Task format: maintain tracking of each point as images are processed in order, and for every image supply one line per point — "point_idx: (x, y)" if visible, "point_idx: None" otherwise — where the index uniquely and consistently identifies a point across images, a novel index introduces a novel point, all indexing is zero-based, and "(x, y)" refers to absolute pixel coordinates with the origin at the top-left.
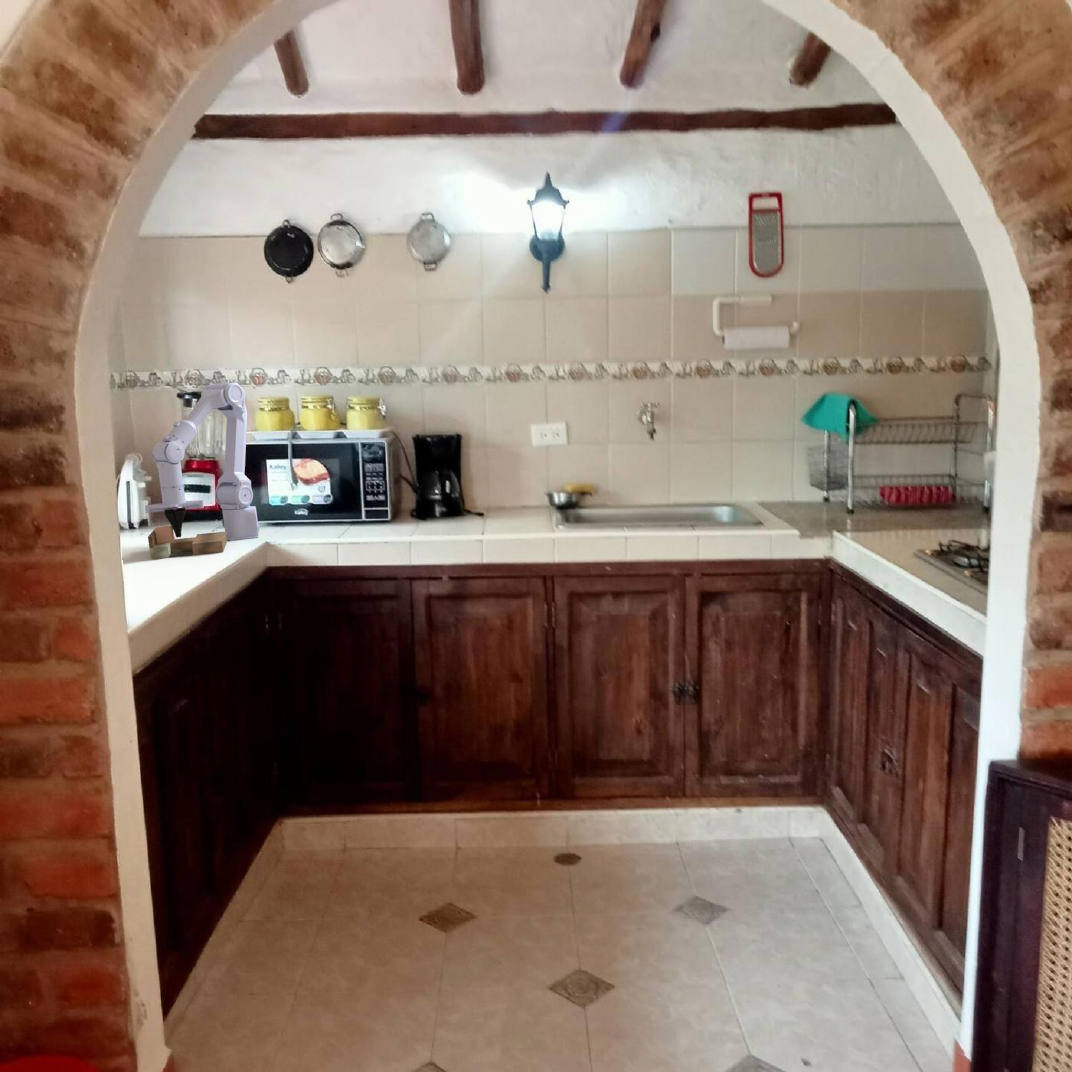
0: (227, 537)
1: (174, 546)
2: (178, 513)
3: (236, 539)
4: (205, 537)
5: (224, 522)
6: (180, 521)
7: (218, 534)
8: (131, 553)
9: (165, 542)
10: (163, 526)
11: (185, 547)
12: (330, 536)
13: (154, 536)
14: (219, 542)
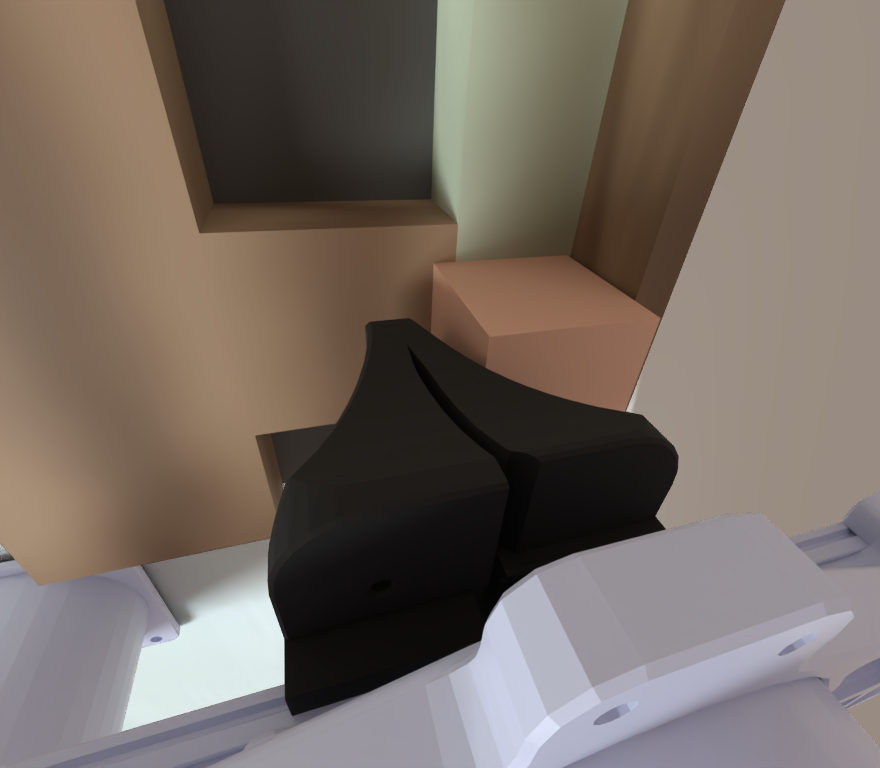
0: (110, 584)
1: (410, 212)
2: (409, 471)
3: None
4: (121, 384)
5: (93, 703)
6: (367, 404)
7: (32, 489)
8: (637, 384)
9: (499, 259)
10: None
11: (304, 211)
12: None
13: (639, 216)
14: None
